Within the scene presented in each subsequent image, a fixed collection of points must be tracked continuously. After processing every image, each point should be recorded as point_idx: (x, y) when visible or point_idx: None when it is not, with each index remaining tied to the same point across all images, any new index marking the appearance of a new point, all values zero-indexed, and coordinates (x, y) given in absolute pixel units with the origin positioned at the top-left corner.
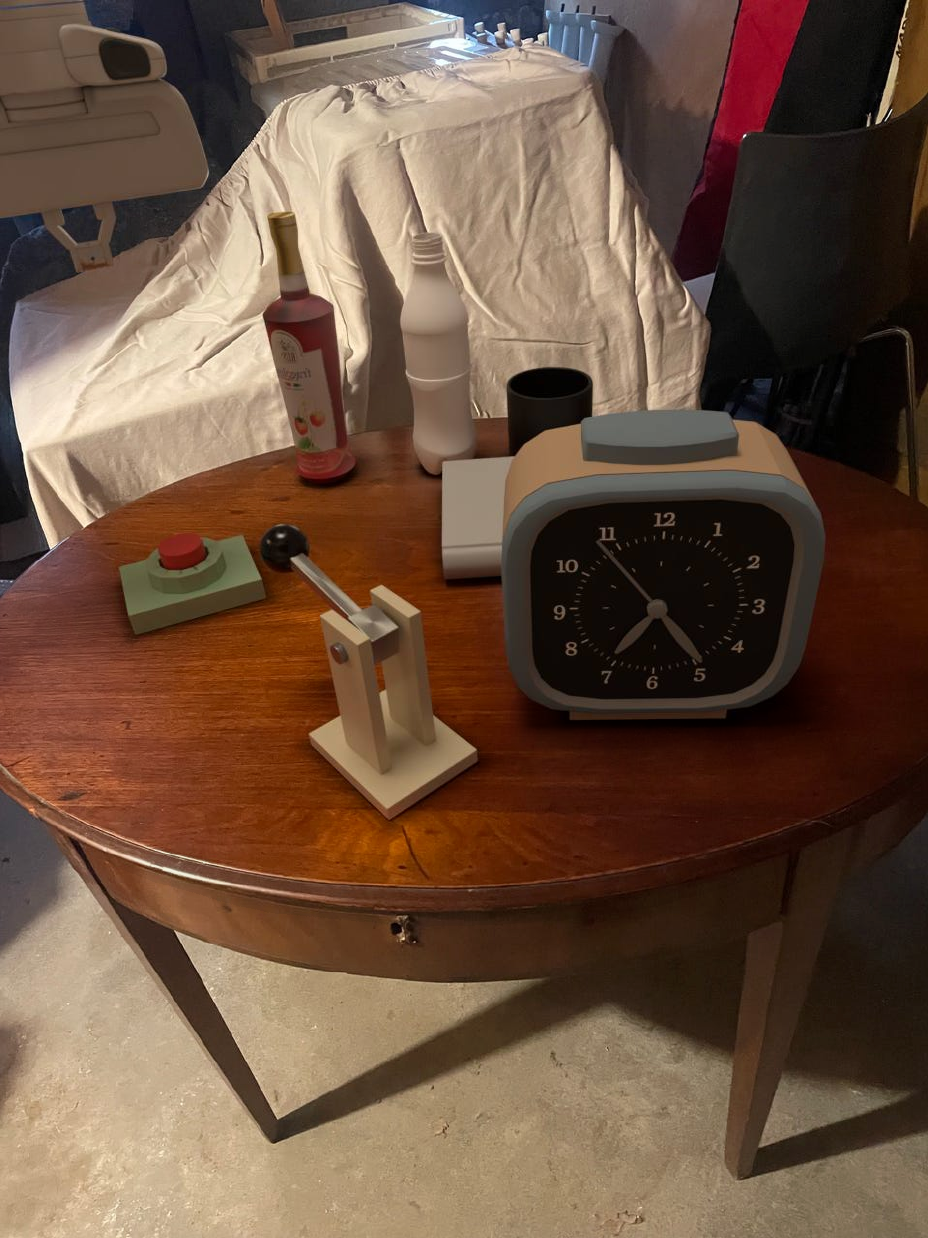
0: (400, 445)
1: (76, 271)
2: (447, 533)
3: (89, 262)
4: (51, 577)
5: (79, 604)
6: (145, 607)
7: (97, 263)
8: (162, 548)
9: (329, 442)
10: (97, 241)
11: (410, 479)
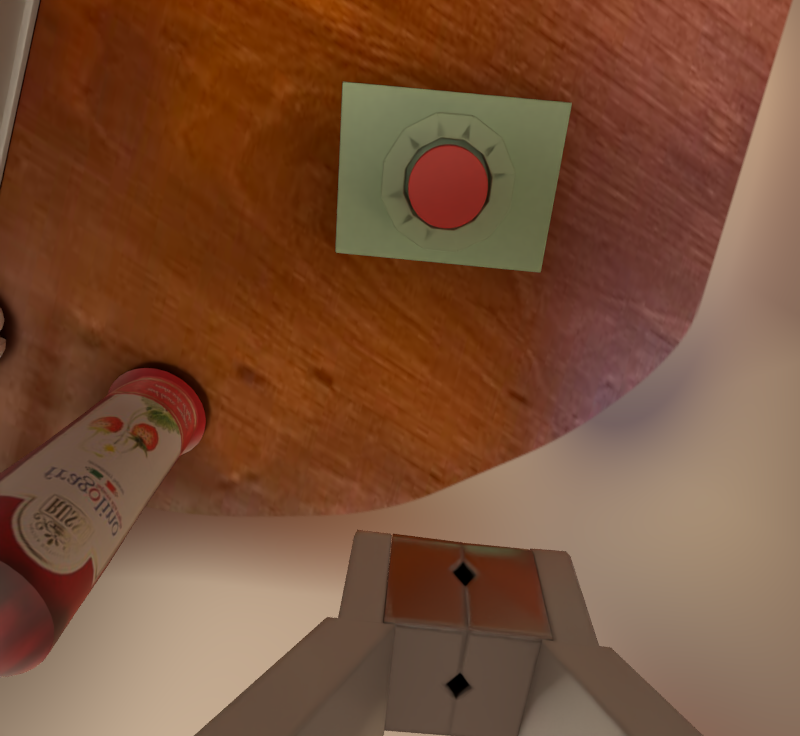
0: (31, 427)
1: (564, 552)
2: None
3: (487, 561)
4: (623, 355)
5: (610, 252)
6: (540, 112)
7: (445, 545)
8: (479, 192)
9: (118, 399)
10: (394, 697)
11: (38, 313)
